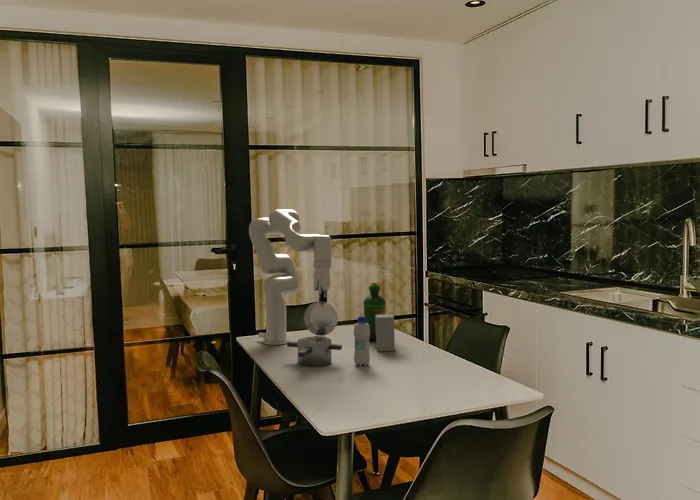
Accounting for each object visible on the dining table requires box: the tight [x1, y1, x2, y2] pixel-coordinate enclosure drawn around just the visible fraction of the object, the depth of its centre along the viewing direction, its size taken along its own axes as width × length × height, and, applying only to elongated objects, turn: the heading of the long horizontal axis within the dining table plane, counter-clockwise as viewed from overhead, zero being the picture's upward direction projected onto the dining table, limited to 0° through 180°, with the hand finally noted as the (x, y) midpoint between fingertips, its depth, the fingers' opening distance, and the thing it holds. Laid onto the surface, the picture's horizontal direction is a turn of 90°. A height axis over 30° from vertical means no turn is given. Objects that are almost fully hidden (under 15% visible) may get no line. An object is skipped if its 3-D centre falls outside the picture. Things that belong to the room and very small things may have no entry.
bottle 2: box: [363, 281, 386, 343], centre depth 292 cm, size 11×11×28 cm
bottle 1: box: [353, 315, 371, 367], centre depth 248 cm, size 7×7×20 cm
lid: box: [303, 300, 338, 337], centre depth 261 cm, size 15×15×3 cm
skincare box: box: [375, 314, 396, 352], centre depth 273 cm, size 8×7×16 cm
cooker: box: [286, 335, 343, 368], centre depth 248 cm, size 23×24×9 cm
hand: (323, 306), depth 262 cm, fingers closed
